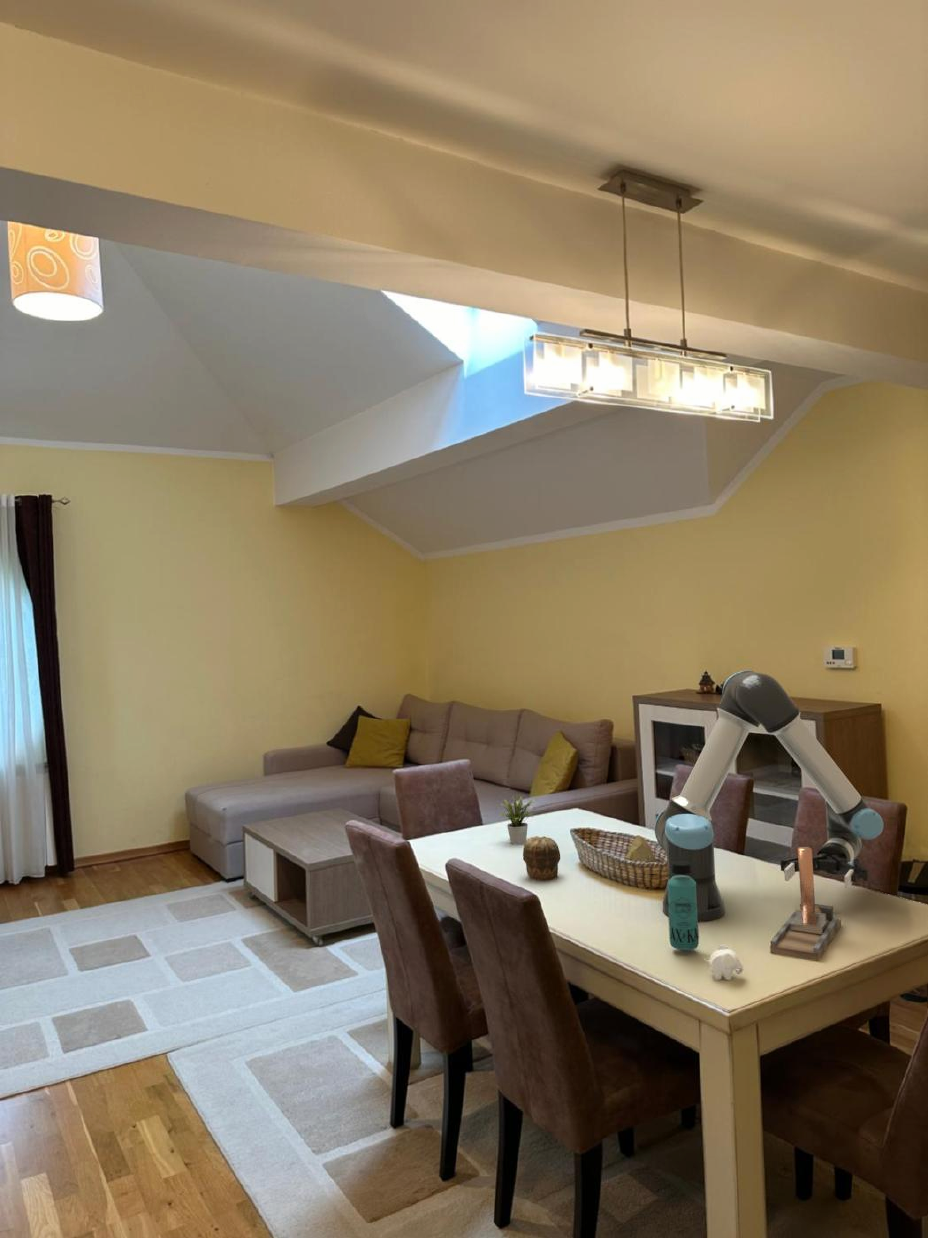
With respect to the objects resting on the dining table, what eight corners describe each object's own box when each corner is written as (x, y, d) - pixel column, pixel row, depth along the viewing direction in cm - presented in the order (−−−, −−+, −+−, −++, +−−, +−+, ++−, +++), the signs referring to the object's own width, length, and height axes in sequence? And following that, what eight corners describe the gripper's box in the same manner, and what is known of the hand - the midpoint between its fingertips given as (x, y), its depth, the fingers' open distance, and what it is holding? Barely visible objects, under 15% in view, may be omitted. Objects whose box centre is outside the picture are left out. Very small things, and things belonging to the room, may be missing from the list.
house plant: (542, 848, 286) (539, 799, 286) (500, 850, 287) (498, 801, 287) (538, 837, 301) (536, 791, 301) (499, 839, 301) (497, 793, 301)
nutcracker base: (818, 961, 183) (817, 937, 183) (770, 953, 188) (769, 929, 189) (841, 925, 203) (840, 904, 203) (797, 919, 208) (796, 898, 208)
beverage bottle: (666, 947, 195) (661, 859, 195) (694, 945, 195) (689, 857, 195) (675, 958, 188) (670, 867, 188) (704, 956, 189) (700, 865, 189)
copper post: (822, 934, 193) (817, 853, 193) (790, 929, 197) (785, 850, 197) (828, 926, 198) (823, 847, 198) (796, 921, 202) (792, 844, 202)
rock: (667, 865, 251) (655, 852, 261) (650, 845, 249) (639, 832, 259) (639, 889, 250) (628, 875, 260) (622, 869, 249) (611, 855, 259)
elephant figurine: (747, 985, 173) (746, 955, 173) (706, 984, 174) (705, 955, 174) (742, 971, 180) (741, 943, 180) (703, 970, 181) (701, 942, 181)
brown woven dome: (519, 881, 250) (517, 840, 250) (530, 871, 260) (528, 831, 261) (555, 884, 246) (553, 842, 246) (565, 873, 256) (563, 833, 256)
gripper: (889, 877, 214) (873, 902, 196) (786, 865, 228) (763, 887, 211) (887, 847, 214) (872, 869, 196) (784, 837, 228) (761, 857, 211)
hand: (815, 879), depth 203 cm, fingers open, 13 cm apart
